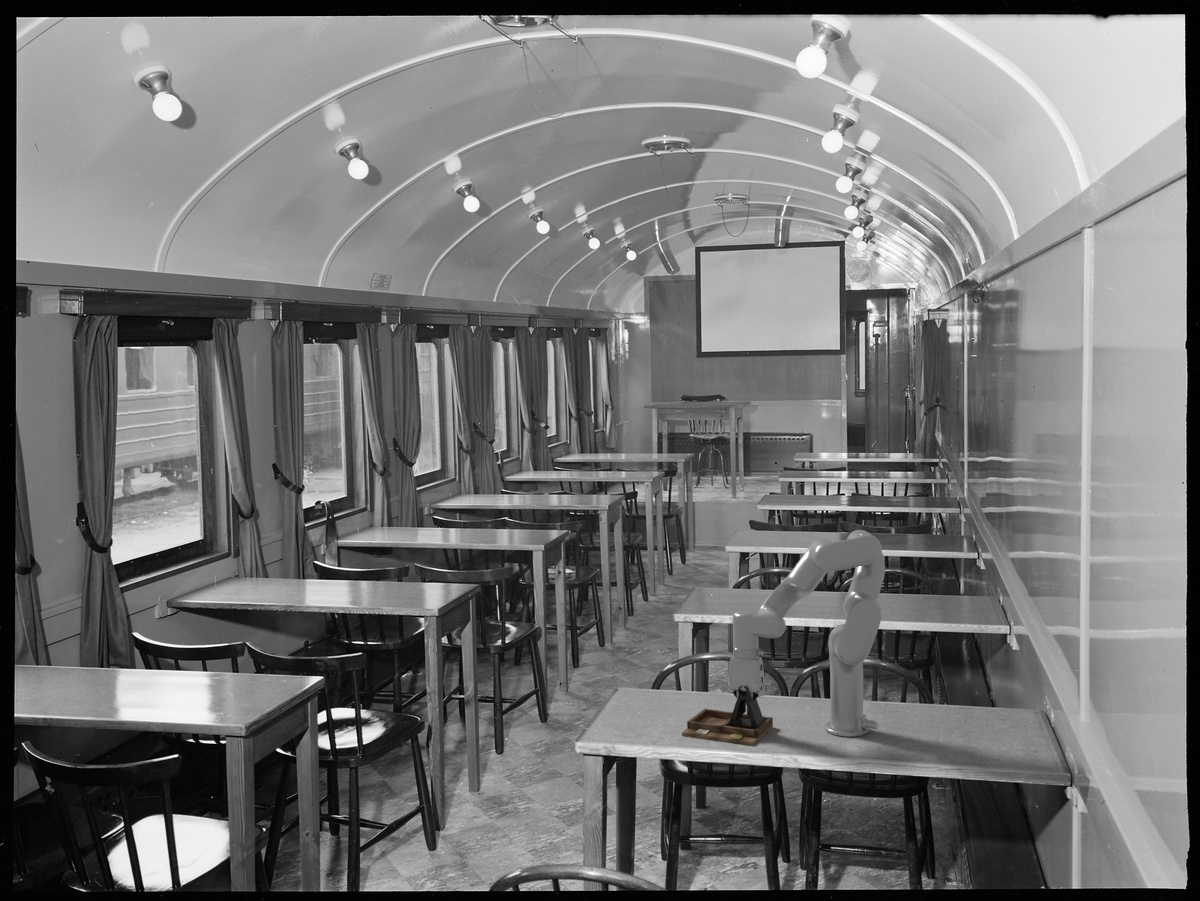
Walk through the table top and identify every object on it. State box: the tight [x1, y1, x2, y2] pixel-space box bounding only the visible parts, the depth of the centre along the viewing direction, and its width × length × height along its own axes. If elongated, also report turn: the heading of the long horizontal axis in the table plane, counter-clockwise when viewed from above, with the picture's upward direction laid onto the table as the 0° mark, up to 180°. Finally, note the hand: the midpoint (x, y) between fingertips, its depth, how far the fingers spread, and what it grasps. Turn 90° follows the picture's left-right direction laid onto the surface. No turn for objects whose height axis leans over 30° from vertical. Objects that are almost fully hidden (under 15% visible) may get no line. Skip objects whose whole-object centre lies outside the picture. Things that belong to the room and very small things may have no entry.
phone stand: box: [729, 686, 764, 728], centre depth 318 cm, size 9×6×12 cm, turn 62°
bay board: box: [681, 708, 774, 747], centre depth 319 cm, size 22×18×3 cm
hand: (746, 713), depth 319 cm, fingers closed on phone stand, 1 cm apart
